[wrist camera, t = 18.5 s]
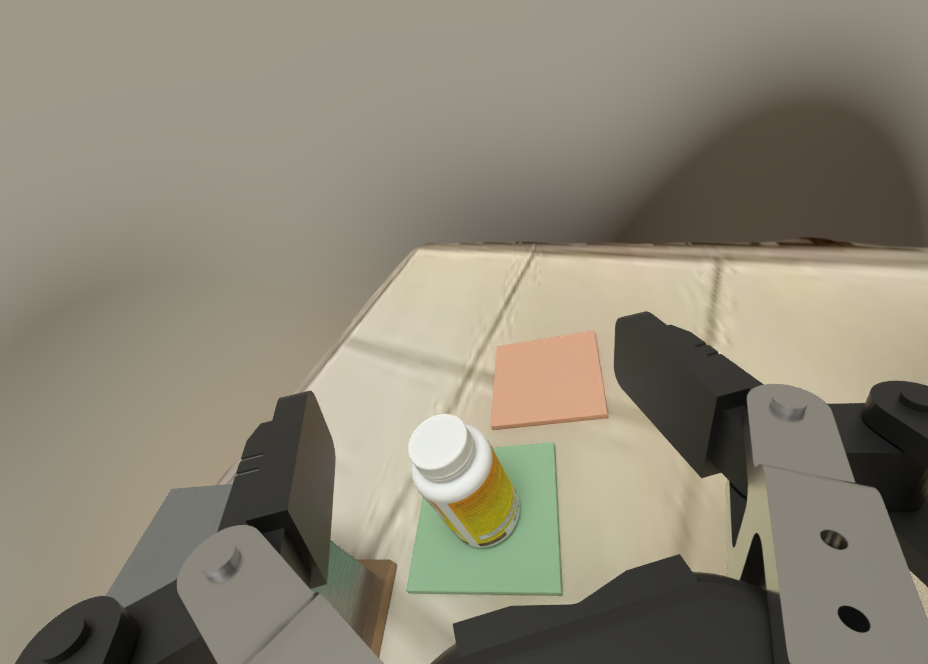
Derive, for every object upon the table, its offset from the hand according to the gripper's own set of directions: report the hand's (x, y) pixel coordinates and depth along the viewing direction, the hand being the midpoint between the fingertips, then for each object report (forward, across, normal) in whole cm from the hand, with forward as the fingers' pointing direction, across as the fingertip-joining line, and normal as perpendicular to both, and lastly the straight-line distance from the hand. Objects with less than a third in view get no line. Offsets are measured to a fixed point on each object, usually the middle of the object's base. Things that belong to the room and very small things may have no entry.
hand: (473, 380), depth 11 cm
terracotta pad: (+22, -10, +19) cm, 31 cm away
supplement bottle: (+13, -1, +22) cm, 25 cm away
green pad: (+13, -1, +22) cm, 26 cm away
